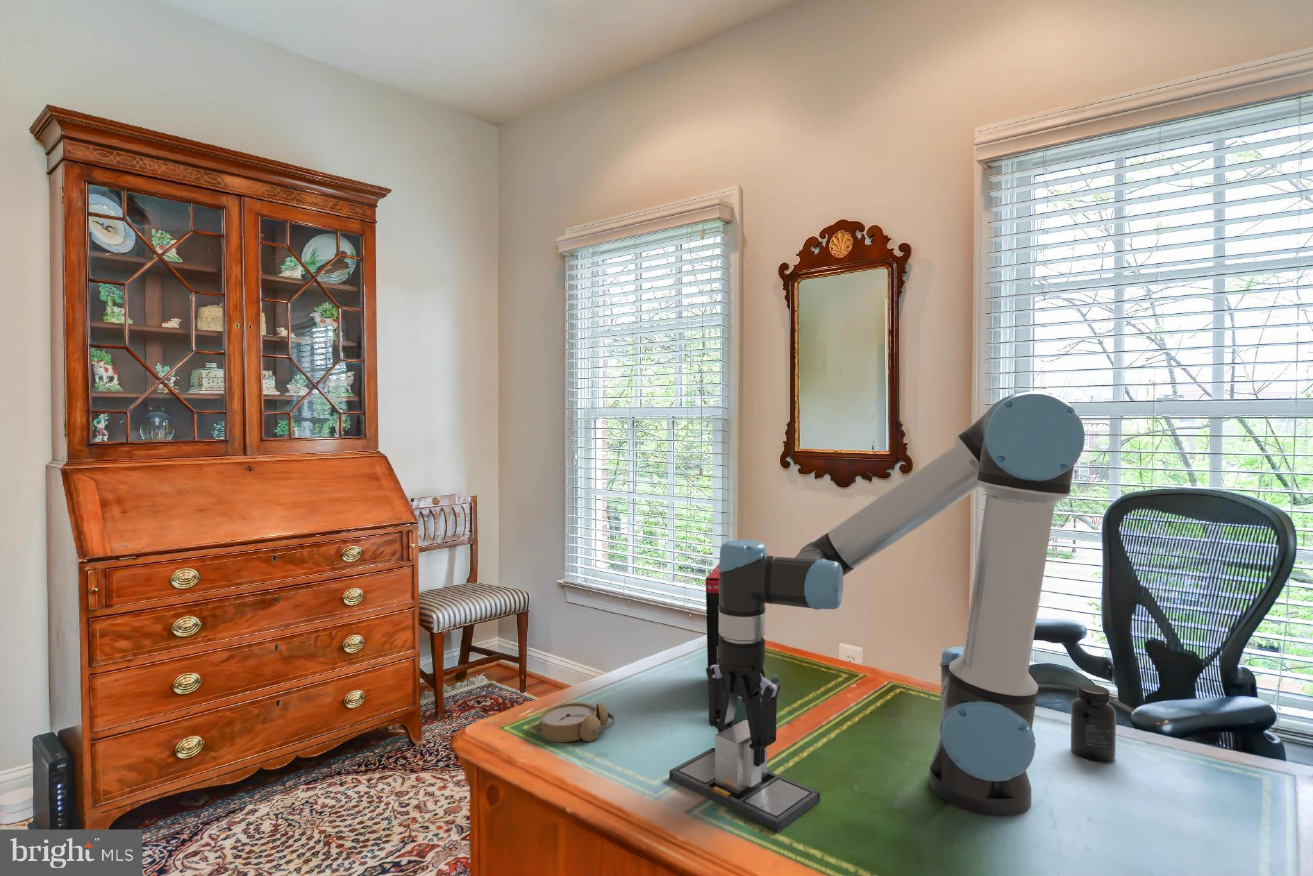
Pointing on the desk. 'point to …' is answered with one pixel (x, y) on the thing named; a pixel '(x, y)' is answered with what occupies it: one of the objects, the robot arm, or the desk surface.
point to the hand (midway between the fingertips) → (741, 777)
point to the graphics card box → (713, 619)
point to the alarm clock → (574, 722)
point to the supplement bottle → (1093, 724)
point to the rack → (748, 793)
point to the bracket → (740, 707)
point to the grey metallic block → (734, 757)
